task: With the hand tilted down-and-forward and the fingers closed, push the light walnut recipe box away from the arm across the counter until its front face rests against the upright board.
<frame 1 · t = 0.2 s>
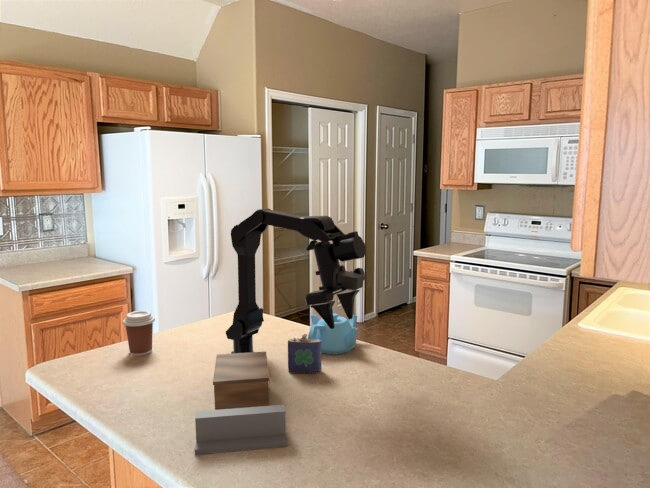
hand: (341, 323, 129), 16 cm above the countertop, tool pointing down, fingers open, 9 cm apart
board: (241, 438, 104), on the countertop
recipe box: (242, 401, 121), on the countertop
coffee cup: (141, 352, 153), on the countertop
teapot: (334, 347, 156), on the countertop
flask: (304, 372, 138), on the countertop
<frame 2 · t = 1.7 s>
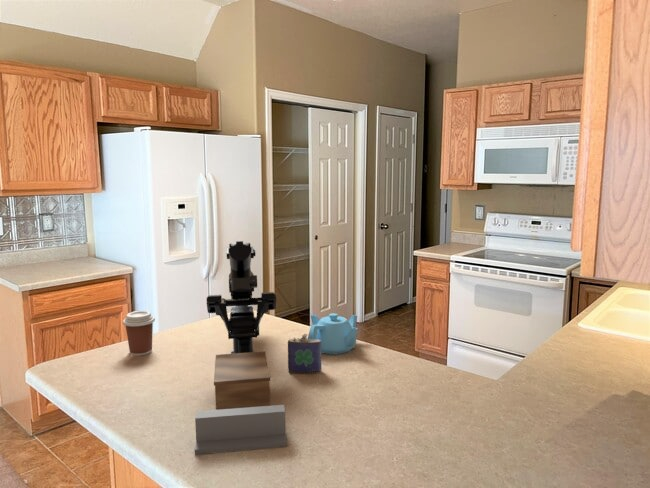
hand: (242, 330, 134), 13 cm above the countertop, tool tilted 45°, fingers open, 7 cm apart
nothing on the countertop moved.
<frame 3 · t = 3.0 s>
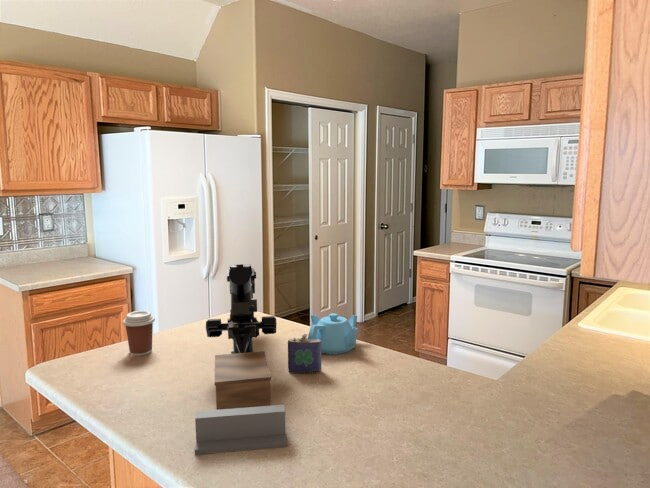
hand: (242, 355, 132), 7 cm above the countertop, tool tilted 45°, fingers closed
nothing on the countertop moved.
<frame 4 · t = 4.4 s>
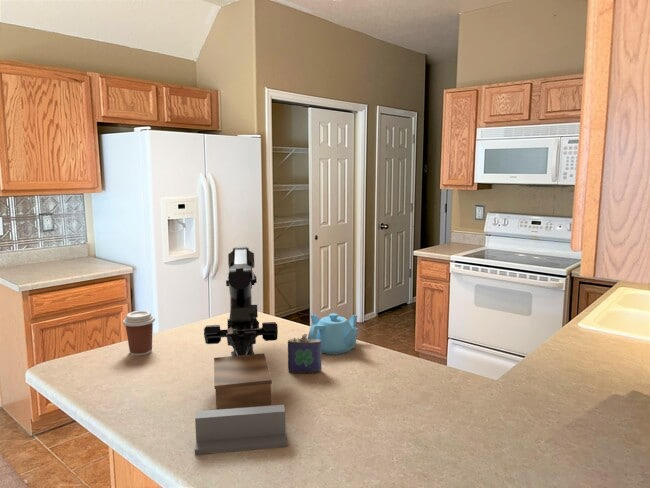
hand: (241, 363, 126), 7 cm above the countertop, tool tilted 45°, fingers closed
recipe box: (242, 404, 119), on the countertop, touching gripper
everything else where it was.
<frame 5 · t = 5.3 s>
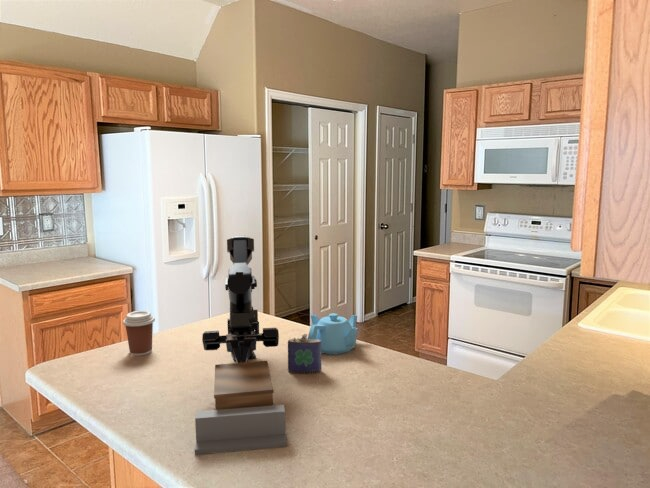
hand: (241, 371, 122), 7 cm above the countertop, tool tilted 45°, fingers closed
recipe box: (243, 414, 115), on the countertop, touching gripper
everything else where it was.
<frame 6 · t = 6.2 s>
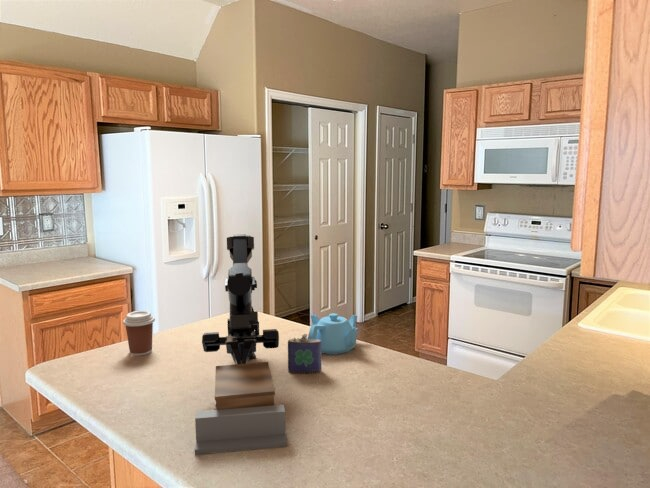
hand: (241, 372, 121), 7 cm above the countertop, tool tilted 45°, fingers closed
recipe box: (244, 415, 114), on the countertop
everything else where it was.
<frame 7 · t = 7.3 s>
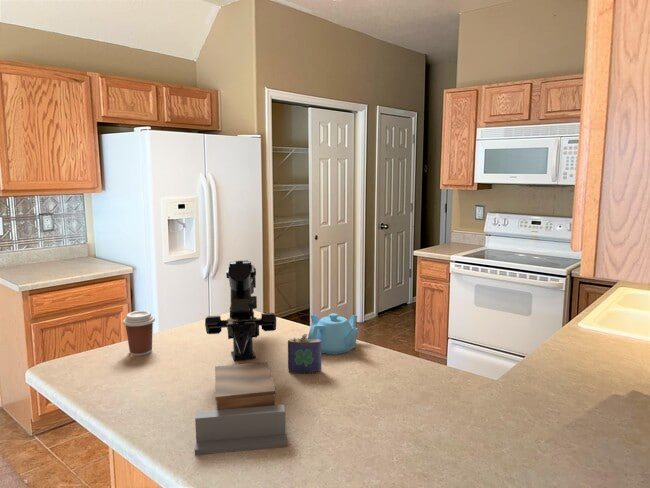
hand: (241, 352, 131), 8 cm above the countertop, tool tilted 45°, fingers closed
nothing on the countertop moved.
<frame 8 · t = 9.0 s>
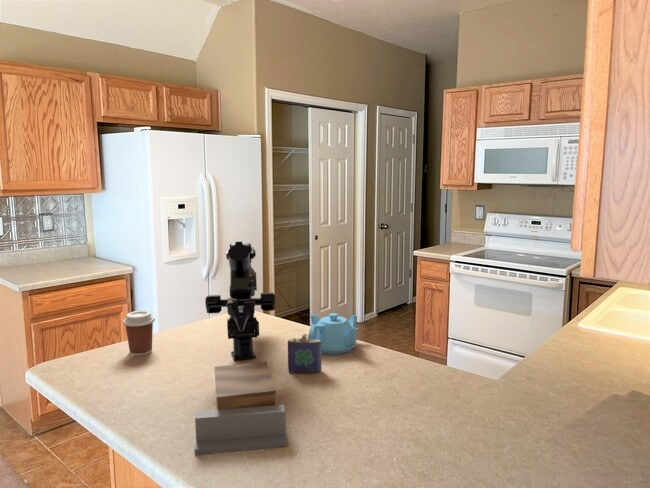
hand: (241, 330, 133), 13 cm above the countertop, tool tilted 45°, fingers closed
nothing on the countertop moved.
at the end: recipe box 1.1 cm from the target spot on the countertop beside the board, on the countertop; recipe box tilted 0°; recipe box moved 7.3 cm from its start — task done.
